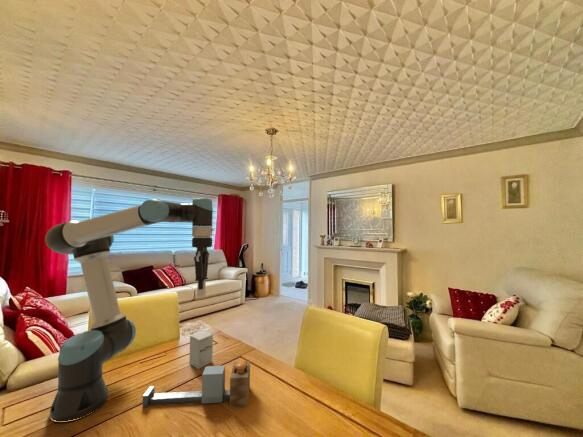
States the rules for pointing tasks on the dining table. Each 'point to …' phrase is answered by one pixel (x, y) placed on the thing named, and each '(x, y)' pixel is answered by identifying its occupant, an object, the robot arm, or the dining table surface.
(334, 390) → the dining table surface
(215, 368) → the block
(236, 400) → the end block
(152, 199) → the robot arm
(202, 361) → the supplement box
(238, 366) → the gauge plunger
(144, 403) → the rail
